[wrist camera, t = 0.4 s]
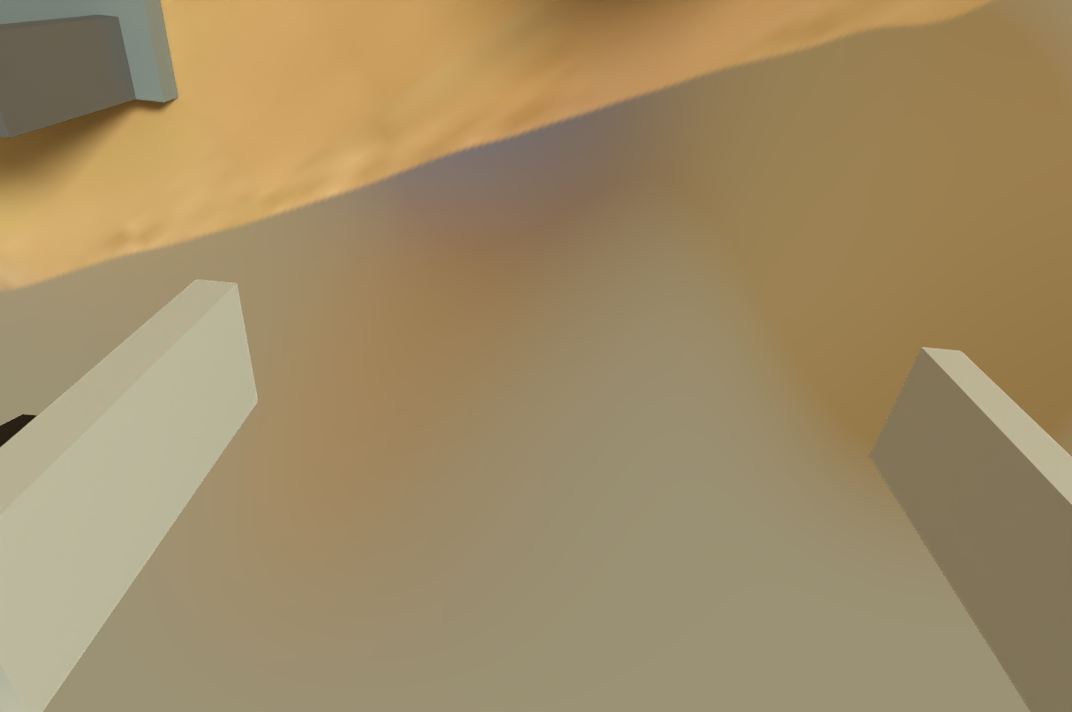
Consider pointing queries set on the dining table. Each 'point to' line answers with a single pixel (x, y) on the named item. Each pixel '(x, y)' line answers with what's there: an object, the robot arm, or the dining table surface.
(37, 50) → the board
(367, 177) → the dining table surface
